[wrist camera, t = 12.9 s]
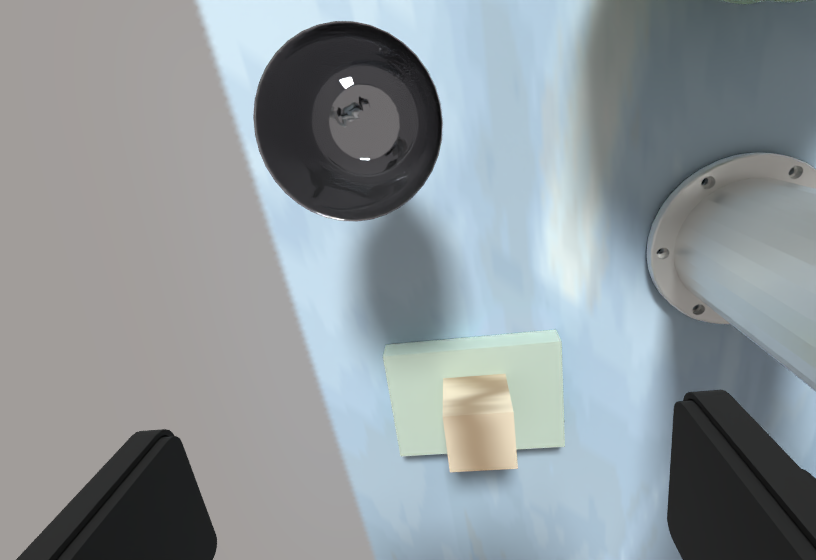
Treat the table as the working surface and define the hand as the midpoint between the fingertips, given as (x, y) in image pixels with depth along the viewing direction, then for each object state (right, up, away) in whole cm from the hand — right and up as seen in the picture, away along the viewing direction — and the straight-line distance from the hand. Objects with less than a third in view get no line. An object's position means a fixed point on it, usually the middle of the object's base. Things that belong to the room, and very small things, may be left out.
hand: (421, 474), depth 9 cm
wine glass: (-2, +15, +25) cm, 29 cm away
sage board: (+5, -6, +32) cm, 33 cm away
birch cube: (+5, -6, +30) cm, 31 cm away
